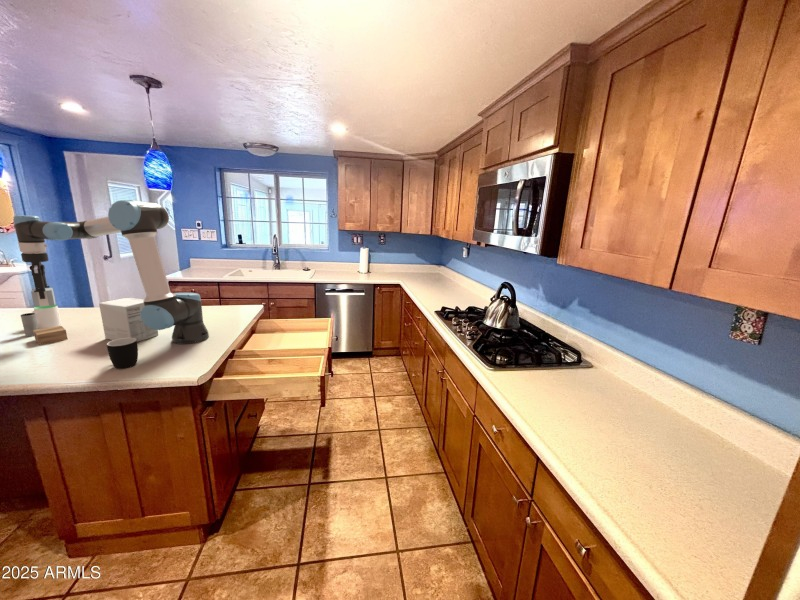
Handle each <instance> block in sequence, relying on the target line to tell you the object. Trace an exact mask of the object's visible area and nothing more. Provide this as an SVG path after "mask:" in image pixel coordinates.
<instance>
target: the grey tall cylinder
mask: <svg viewBox="0 0 800 600" xmlns="http://www.w3.org/2000/svg"><path fill="white" fill-rule="evenodd" d="M20 319H21V322H22V327H23V332H24V335H25V337H35V336H34V332H33V330H38V329H40V328H38V323H37V319H36V315H35V313H29V312H26V313H22V314H20Z"/></svg>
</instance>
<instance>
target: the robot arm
mask: <svg viewBox="0 0 800 600" xmlns="http://www.w3.org/2000/svg"><path fill="white" fill-rule="evenodd" d="M12 218H13V223H14V224H13V226H14V229H15V234H16V237H17V238H16V239H17V243H18V248H19V252H20V253H21V254H20V256H21V261H22V262H24V263H31V265H30V266H29V270H30V271H31V276H32V278H33V279H32V280H33V283H34V284H33V285H34V289H35V291H34V292H37V296H38V300H39V305H40V306H49V302H48V298H47V293H46V290H45V288H51V287H50V285H48V283H47V282H48V281H47V279H46V270H45V264H42V263H45V262H48V261H49V259H50V258H49V255H48V252H47V248H48V247H49V245H48V244H46V241H45V240H50V241H51V240H52V241H57V242H58V241H68V240H78V239H79V240H82V239H83V240H85V239H86V240H90V239H97V238H99V237H100V236H101V237H102V236H107V235H112V234H113V235H114V234H119V233H121V236H122V237H123V238H125V239H127V240H128V242H129V245H130V249H131V252H132V255H133V258H134V262H135V265H136V268H137V272H138V274H139V276H140V280H141V284H142V286H143V290H144V294H145V297H144V298H143V302H144V305H145V307H144V308H142V310H141V312H140V316H141V319H142V321H143V323H144V324H145V325H146V326H148V327H150V328H151V329H154V330H158V331H161V330H162V331H163V330H166V329H170V328H172V327H174V328H173V331H172V334H171V340H172V343H174V344H177V345H188V344H189V345H190V344H196V343H200V342H203V341H206V340H207V339H208V338H210V337H209V336H210V335H209V330H208V329H207V327H206V325H205V323H204V320H203V318H204V317H203V307H202V299H201V295H200V293H196V292H174V293H173V292H172V291H171V289H170V286H169V282H168V279H167V276H166V272H165V269H164V266H163V261H162V259H161V256H160V253H159V248H158V245H157V241H156V238H155V237H156V236H157V235H158V230H161V229H163V228H165V227H166V226H167V225H168V223H169V220H170V216H169V213H168V211H167V210H166V209H165V207H163V206H162V205H161V204H159V203H155V202H154V201H153V202H151V201H140V200H132V199H128V200H127V199H124V200H117V201H114V202H113V203H112V204H111V206H110V207H109V208H108V213H107V216H104V217H99V218H94V219H93V218H92V219H89V220H83V221H44V220H43V221H42V220H41V217H40V216H38V215H22V214H21V215H19V214H18V215H14V216H13V217H12Z"/></svg>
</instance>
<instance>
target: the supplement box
mask: <svg viewBox="0 0 800 600" xmlns="http://www.w3.org/2000/svg"><path fill="white" fill-rule="evenodd" d="M143 300H144V298H143V299H142V298H133V297H124V298H119V299H118V298H117V299H113V300H108V301H102V302H99V303H98V305H99V311H100V315H101V323H102V328H103V332H104V337H105V339H106V340H110V341H113V340H116V339H121V338H135V339H137V343H138V342H140V341H145V340H148V339H151V338H154V337H158V336H159V330H154V329H151V328H150V327H148V326H146V325H145V324H144V323H143V321H142V319H141V316H140V312H141V310H142V308H144V307H145V305H144V302H143Z"/></svg>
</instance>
